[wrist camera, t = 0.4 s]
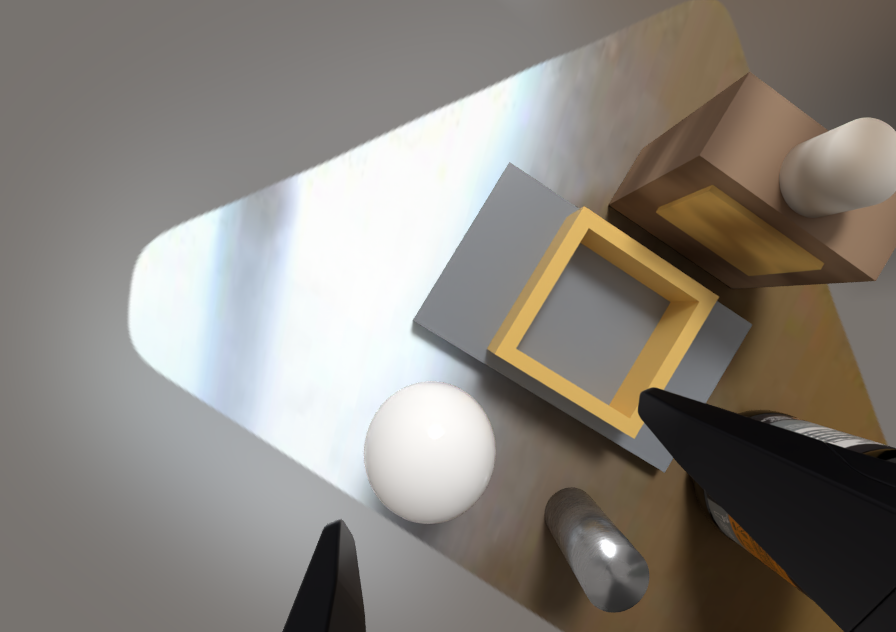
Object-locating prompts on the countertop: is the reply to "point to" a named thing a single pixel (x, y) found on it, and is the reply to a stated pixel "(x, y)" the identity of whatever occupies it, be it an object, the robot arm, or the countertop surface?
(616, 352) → the board
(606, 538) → the silver metal cylinder
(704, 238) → the lamp unit
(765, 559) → the supplement container
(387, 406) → the lightbulb
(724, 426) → the robot arm
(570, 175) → the countertop surface
